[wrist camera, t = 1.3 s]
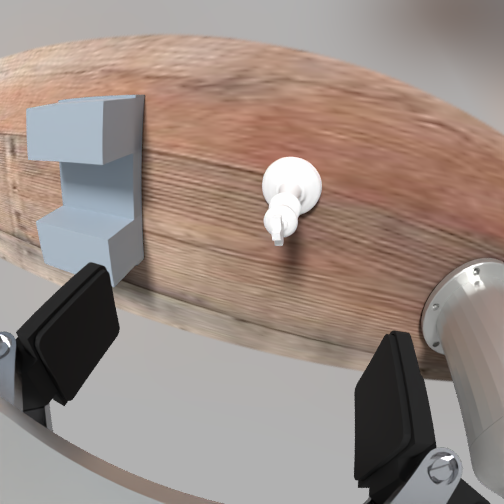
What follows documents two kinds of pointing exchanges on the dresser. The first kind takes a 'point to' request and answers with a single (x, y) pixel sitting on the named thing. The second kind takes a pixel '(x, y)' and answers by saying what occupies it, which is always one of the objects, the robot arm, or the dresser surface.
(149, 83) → the dresser surface
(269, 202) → the chess piece
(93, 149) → the slot block
